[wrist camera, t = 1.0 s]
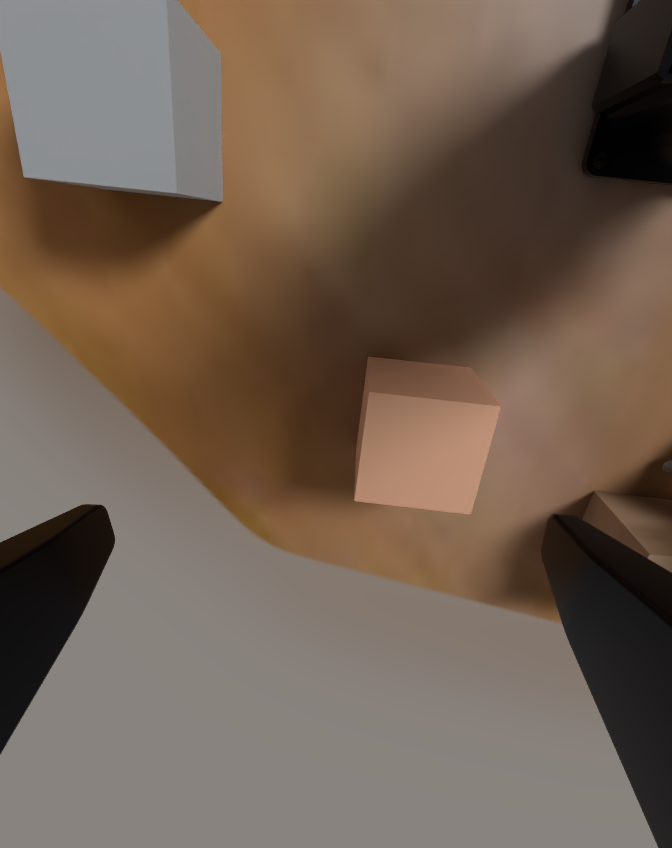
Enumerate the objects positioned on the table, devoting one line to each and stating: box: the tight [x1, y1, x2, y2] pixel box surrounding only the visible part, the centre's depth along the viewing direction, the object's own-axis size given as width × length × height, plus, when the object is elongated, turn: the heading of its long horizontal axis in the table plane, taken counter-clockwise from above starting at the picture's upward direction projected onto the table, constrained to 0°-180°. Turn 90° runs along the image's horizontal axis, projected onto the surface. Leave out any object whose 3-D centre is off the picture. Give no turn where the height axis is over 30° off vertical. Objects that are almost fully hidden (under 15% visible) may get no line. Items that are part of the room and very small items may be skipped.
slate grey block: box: [0, 0, 223, 202], centre depth 15 cm, size 5×5×5 cm
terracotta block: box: [354, 356, 501, 514], centre depth 19 cm, size 5×5×5 cm
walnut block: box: [582, 491, 672, 573], centre depth 22 cm, size 5×5×5 cm
